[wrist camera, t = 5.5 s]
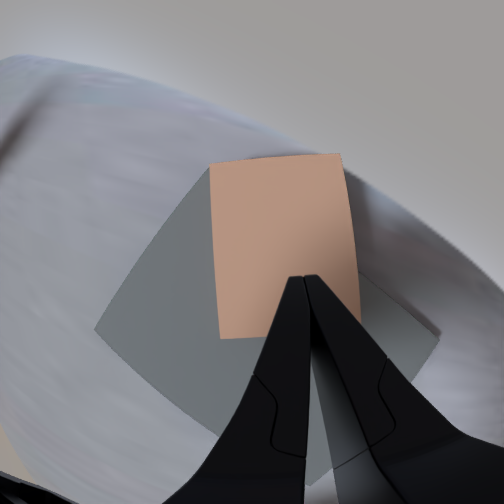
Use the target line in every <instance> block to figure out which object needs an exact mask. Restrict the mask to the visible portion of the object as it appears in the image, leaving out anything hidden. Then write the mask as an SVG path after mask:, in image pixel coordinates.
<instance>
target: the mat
mask: <svg viewBox="0 0 504 504" xmlns="http://www.w3.org/2000/svg"><path fill="white" fill-rule="evenodd" d="M358 280H359V293H360V308H361V325H362V326H363V327H364V328H365V329H366V331H367V332H368V333H369V334H370V335H371V337H372V338H373V339H374V340H375V341H376V343H377V344H378V345H379V346H380V347H381V349H382V350H383V351H384V352H385V353H386V355H387V356H388V357H387V358H390V359H391V361H392V362H393V363H394V364H395V366H396V367H397V368H398V369H399V370H400V372H401V373H402V374H403V375H404V376H405V377H406V379H407V380H408V381H409V382H410V383H411V382H412V380H413V379H414V378H415V376H416V375H417V373H418V372H419V371H420V369H421V368H422V366H423V365H424V363H425V362H426V360H427V359H428V357H429V356H430V354H431V353H432V351H433V350H434V348H435V347H436V345H437V343H438V342H439V339H438V338H437V337H436V336H435V335H434V334H432V333H431V332H430V331H429V330H428V329H427V328H426V327H425V326H423V325H422V324H421V323H420V322H419V321H418V320H416V319H415V318H414V317H413V316H412V315H411V314H409V313H408V312H407V311H406V310H405V309H404V308H402V307H401V306H400V305H399V304H398V303H396V302H395V301H394V300H393V299H392V298H390V297H389V296H388V295H387V294H386V293H384V292H383V291H382V290H381V289H380V288H378V287H377V286H376V285H375V284H373V283H372V282H371V281H370V280H368V279H367V278H366V277H365V276H363V275H362V274H361V273H360V272H358ZM94 330H95V331H96V332H97V334H98V335H99V336H100V337H101V338H102V339H103V340H104V341H105V342H106V343H107V344H108V345H109V346H110V347H111V348H112V349H113V350H114V351H115V352H116V353H117V354H118V355H119V356H120V357H121V358H122V359H123V360H124V361H125V362H126V363H127V364H128V365H129V366H130V367H131V368H132V369H133V370H135V371H136V372H137V373H138V374H139V375H140V376H141V377H142V378H143V379H145V380H146V381H147V382H148V383H149V384H150V385H151V386H153V387H154V388H155V389H156V390H157V391H158V392H160V393H161V394H162V395H163V396H164V397H166V398H167V399H168V400H169V401H171V402H172V403H173V404H174V405H176V406H177V407H178V408H180V409H181V410H182V411H183V412H185V413H186V414H187V415H189V416H190V417H191V418H193V419H194V420H196V421H197V422H198V423H200V424H201V425H203V426H204V427H205V428H207V429H208V430H210V431H211V432H213V433H214V434H216V435H217V436H219V437H220V436H221V434H222V433H223V431H224V430H225V428H226V426H227V425H228V423H229V421H230V420H231V418H232V416H233V414H234V412H235V411H236V409H237V407H238V405H239V403H240V401H241V399H242V396H243V394H244V392H245V390H246V388H247V385H248V383H249V380H250V378H251V375H253V371H254V368H255V366H256V363H257V360H258V358H259V355H260V353H261V350H262V347H263V345H264V342H265V340H266V337H252V338H234V339H220V331H219V319H218V308H217V295H216V282H215V268H214V253H213V236H212V217H211V196H210V168H208V169H207V170H206V171H205V172H204V174H203V175H202V176H201V177H200V179H199V180H198V181H197V182H196V183H195V185H194V186H193V187H192V188H191V190H190V191H189V192H188V193H187V195H186V196H185V197H184V198H183V200H182V201H181V202H180V204H179V205H178V206H177V207H176V209H175V210H174V211H173V213H172V214H171V215H170V217H169V218H168V219H167V221H166V222H165V223H164V225H163V226H162V227H161V229H160V230H159V231H158V233H157V234H156V236H155V237H154V238H153V240H152V241H151V242H150V244H149V245H148V247H147V248H146V249H145V251H144V252H143V254H142V255H141V257H140V258H139V260H138V261H137V262H136V264H135V265H134V267H133V268H132V270H131V271H130V273H129V274H128V276H127V277H126V279H125V280H124V282H123V283H122V285H121V286H120V288H119V290H118V291H117V293H116V294H115V296H114V297H113V299H112V300H111V302H110V304H109V305H108V307H107V309H106V310H105V312H104V313H103V315H102V317H101V318H100V320H99V322H98V323H97V325H96V327H95V328H94ZM331 468H332V462H331V456H330V451H329V446H328V441H327V435H326V430H325V425H324V421H323V416H322V411H321V406H320V401H319V396H318V392H317V387H316V383H315V378H314V373H313V369H312V365H311V375H310V408H309V429H308V445H307V457H306V473H305V484H306V485H308V486H311V485H312V484H313V483H314V482H316V481H317V480H318V479H319V478H321V477H322V476H323V475H324V474H325V473H327V472H328V471H329V470H330V469H331Z"/></svg>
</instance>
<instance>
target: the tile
mask: <svg viewBox="0 0 504 504" xmlns="http://www.w3.org/2000/svg"><path fill="white" fill-rule="evenodd" d="M209 168H210V196H211V217H212V236H213V253H214V268H215V282H216V295H217V308H218V319H219V331H220V339H234V338H252V337H267V334H268V332H269V329H270V326H271V324H272V321H273V318H274V315H275V313H276V310H277V307H278V304H279V302H280V299H281V296H282V293H283V290H284V288H285V285H286V282H287V279H288V277H289V276H298V275H301V276H304V275H309V274H317V275H319V276H320V277H321V279H322V280H323V281H324V282H325V283H326V284H327V285H328V286H329V288H330V289H331V290H332V291H333V292H334V293H335V294H336V296H337V297H338V298H339V299H340V300H341V301H342V303H343V304H344V305H345V306H346V307H347V308H348V309H349V311H350V312H351V313H352V314H353V315H354V316H355V318H356V319H357V320H358V321H359V322H360V324H361V308H360V293H359V280H358V269H357V259H356V249H355V241H354V233H353V226H352V218H351V212H350V205H349V199H348V193H347V187H346V181H345V176H344V171H343V166H342V161H341V156H340V154H313V155H294V156H280V157H268V158H257V159H247V160H237V161H229V162H221V163H213V164H209Z"/></svg>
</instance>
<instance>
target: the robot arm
mask: <svg viewBox="0 0 504 504" xmlns="http://www.w3.org/2000/svg"><path fill="white" fill-rule="evenodd" d="M387 357H388V356H387V355H386V353H385V352H384V351H383V350H382V349H381V347H380V346H379V345H378V344H377V343H376V341H375V340H374V339H373V338H372V337H371V335H370V334H369V333H368V332H367V331H366V329H365V328H364V327H363V326H362V325H361V324H360V322H359V321H358V320H357V319H356V318H355V316H354V315H353V314H352V313H351V312H350V311H349V309H348V308H347V307H346V306H345V305H344V304H343V303H342V301H341V300H340V299H339V298H338V297H337V296H336V294H335V293H334V292H333V291H332V290H331V289H330V288H329V286H328V285H327V284H326V283H325V282H324V281H323V280H322V279H321V277H320V276H319V275H317V274H309V275H304V276H301V275H298V276H289V277H288V279H287V282H286V285H285V288H284V290H283V293H282V296H281V299H280V302H279V304H278V307H277V310H276V313H275V315H274V318H273V321H272V324H271V326H270V329H269V332H268V334H267V337H266V340H265V342H264V345H263V347H262V350H261V353H260V355H259V358H258V360H257V363H256V366H255V368H254V371H253V375H251V378H250V380H249V383H248V385H247V388H246V390H245V392H244V394H243V396H242V399H241V401H240V403H239V405H238V407H237V409H236V411H235V412H234V414H233V416H232V418H231V420H230V421H229V423H228V425H227V426H226V428H225V430H224V431H223V433H222V434H221V436H220V438H219V439H218V441H217V442H216V444H215V445H214V447H213V449H212V450H211V452H210V453H209V455H208V456H207V458H206V459H205V461H204V462H203V464H202V465H201V466H200V468H199V469H198V470H197V471H196V473H195V474H194V475H193V476H192V477H191V478H190V479H189V481H188V482H187V483H185V484H184V485H183V486H182V487H181V488H180V489H179V490H177V491H176V492H175V493H174V494H173V495H172V496H171V497H169V498H168V499H167V500H166V501H165V502H163V503H162V504H304V491H305V473H306V457H307V445H308V429H309V408H310V375H311V365H312V369H313V373H314V378H315V383H316V387H317V392H318V396H319V401H320V406H321V411H322V416H323V421H324V425H325V430H326V435H327V441H328V446H329V451H330V456H331V462H332V467H333V473H334V478H335V484H336V490H337V496H338V502H339V504H504V447H500V446H497V445H494V444H491V443H488V442H485V441H483V440H480V439H477V438H474V437H471V436H469V435H467V434H465V433H463V432H461V431H460V430H458V429H457V428H456V427H454V426H453V425H452V424H451V423H450V422H449V421H448V420H447V419H446V418H445V417H444V416H443V415H442V414H441V413H440V412H439V411H438V410H437V409H436V408H435V407H434V406H433V405H432V404H431V403H430V402H429V401H428V400H427V399H426V398H425V397H424V396H423V395H422V394H421V393H420V392H419V391H418V390H417V389H416V388H415V387H414V386H413V385H412V384H411V383H410V382H409V381H408V380H407V379H406V377H405V376H404V375H403V374H402V373H401V372H400V370H399V369H398V368H397V367H396V366H395V364H394V363H393V362H392V361H391V359H390V358H387ZM0 504H78V503H76V502H74V501H72V500H70V499H68V498H65V497H63V496H61V495H59V494H57V493H55V492H52V491H50V490H48V489H45V488H43V487H41V486H39V485H35V484H33V483H30V482H27V481H24V480H21V479H19V478H16V477H14V476H11V475H9V474H6V473H4V472H2V471H0Z"/></svg>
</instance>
